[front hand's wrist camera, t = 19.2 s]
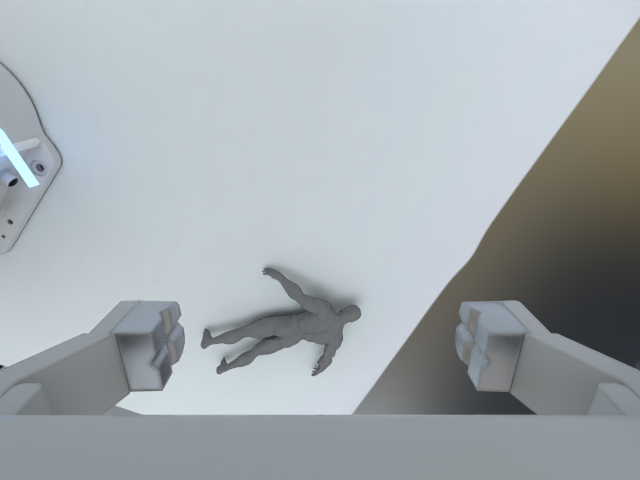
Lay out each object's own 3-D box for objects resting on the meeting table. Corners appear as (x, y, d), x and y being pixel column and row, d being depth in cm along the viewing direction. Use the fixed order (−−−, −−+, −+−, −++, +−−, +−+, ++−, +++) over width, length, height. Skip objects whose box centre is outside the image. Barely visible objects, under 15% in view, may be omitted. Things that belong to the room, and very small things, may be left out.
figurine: (243, 386, 51) (378, 353, 47) (235, 411, 47) (382, 376, 43) (188, 290, 45) (337, 243, 41) (173, 309, 41) (337, 259, 38)
